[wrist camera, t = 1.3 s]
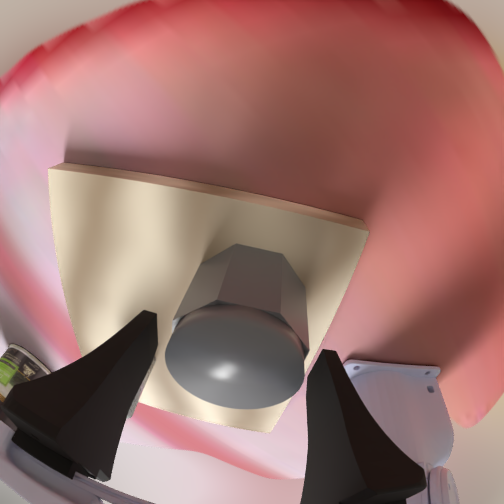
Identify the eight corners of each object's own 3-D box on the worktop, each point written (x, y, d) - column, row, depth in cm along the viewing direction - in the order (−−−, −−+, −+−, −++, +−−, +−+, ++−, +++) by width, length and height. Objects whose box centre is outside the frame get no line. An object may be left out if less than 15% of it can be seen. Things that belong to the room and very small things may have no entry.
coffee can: (-1, 337, 27) (-50, 403, 14) (39, 352, 25) (-17, 437, 13) (32, 384, 31) (-5, 447, 19) (75, 402, 30) (37, 479, 18)
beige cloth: (362, 220, 14) (369, 231, 13) (270, 420, 24) (269, 433, 23) (63, 162, 14) (48, 168, 13) (98, 373, 24) (92, 383, 23)
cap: (314, 260, 14) (325, 340, 9) (285, 339, 17) (282, 417, 12) (203, 236, 14) (163, 305, 9) (194, 319, 17) (166, 392, 12)
